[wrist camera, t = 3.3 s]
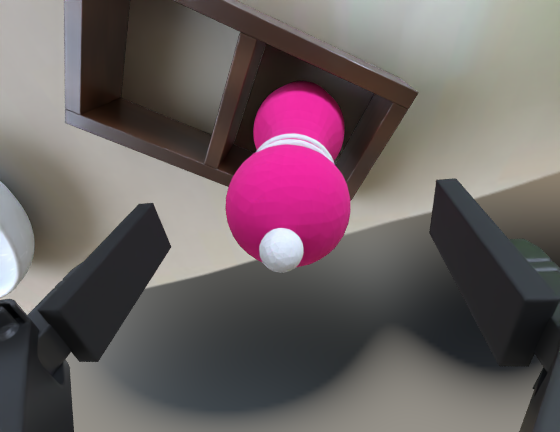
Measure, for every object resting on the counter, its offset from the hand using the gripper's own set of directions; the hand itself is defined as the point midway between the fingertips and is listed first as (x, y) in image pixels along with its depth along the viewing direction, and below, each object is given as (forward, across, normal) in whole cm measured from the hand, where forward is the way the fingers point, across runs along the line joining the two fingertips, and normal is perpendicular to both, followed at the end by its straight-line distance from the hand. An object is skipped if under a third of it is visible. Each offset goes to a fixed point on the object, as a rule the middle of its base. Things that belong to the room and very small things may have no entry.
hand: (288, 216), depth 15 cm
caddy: (+16, -5, +3) cm, 17 cm away
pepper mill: (+17, 0, 0) cm, 17 cm away
